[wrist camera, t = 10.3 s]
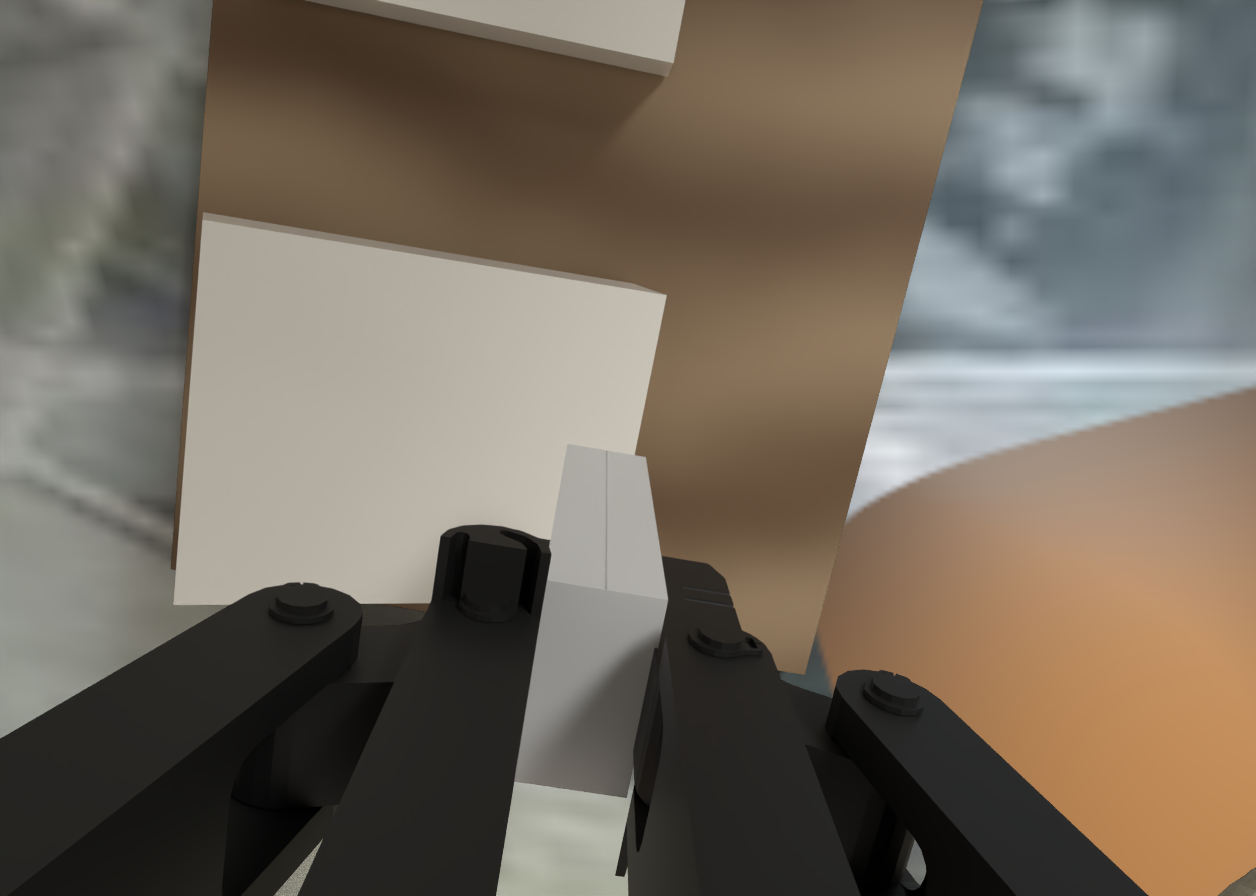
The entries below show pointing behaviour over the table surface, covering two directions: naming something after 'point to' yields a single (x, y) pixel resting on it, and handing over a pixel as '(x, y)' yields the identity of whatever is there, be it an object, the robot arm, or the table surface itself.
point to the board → (639, 223)
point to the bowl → (1242, 886)
